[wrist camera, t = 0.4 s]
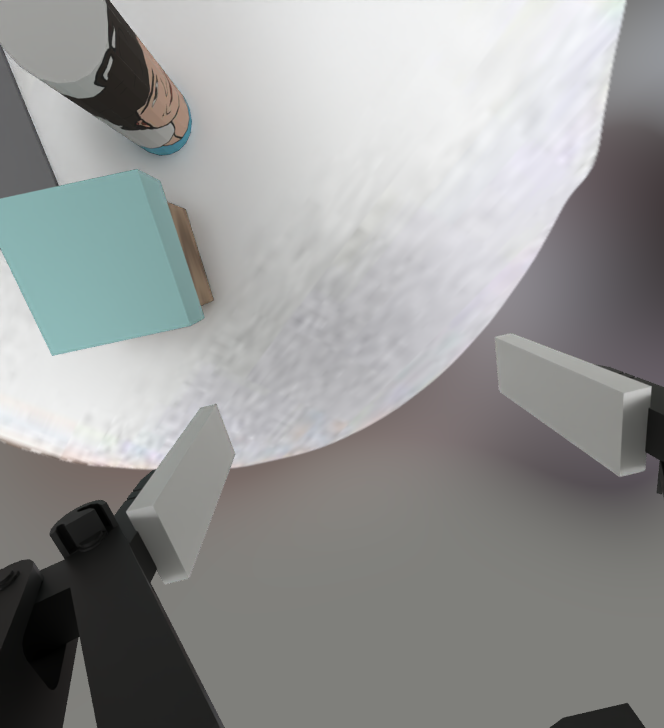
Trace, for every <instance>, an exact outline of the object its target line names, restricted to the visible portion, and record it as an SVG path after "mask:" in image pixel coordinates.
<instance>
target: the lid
mask: <svg viewBox="0 0 664 728" xmlns="http://www.w3.org/2000/svg"><path fill="white" fill-rule="evenodd" d="M0 249H1V251H2V253H3V255H4V257H5V259H6V261H7V263H8V265H9V267H10V269H11V272H12V274H13V276H14V278H15V280H16V282H17V284H18V286H19V288H20V290H21V292H22V294H23V296H24V298H25V300H26V303H27V305H28V307H29V309H30V311H31V313H32V315H33V317H34V319H35V321H36V323H37V325H38V327H39V329H40V332H41V334H42V336H43V338H44V340H45V342H46V344H47V346H48V348H49V350H50V352H51V354H52V356H54V355H58V354H63V353H67V352H72V351H77V350H81V349H86V348H91V347H95V346H100V345H104V344H109V343H114V342H118V341H123V340H128V339H132V338H137V337H141V336H146V335H151V334H155V333H160V332H164V331H169V330H174V329H178V328H183V327H188V326H191V325H193V324H195V323H197V322H198V321H200V320H202V319H204V318H205V317H204V314H203V311H202V308H201V305H200V302H199V299H198V296H197V293H196V290H195V287H194V284H193V281H192V277H191V274H190V271H189V268H188V265H187V262H186V259H185V256H184V253H183V250H182V247H181V244H180V241H179V237H178V234H177V231H176V228H175V225H174V222H173V219H172V216H171V213H170V210H169V207H168V204H167V201H166V198H165V194H164V191H163V188H162V185H161V182H160V181H159V180H157V179H155V178H153V177H152V176H150V175H148V174H146V173H144V172H142V171H140V170H138V169H135V170H130V171H126V172H121V173H116V174H112V175H107V176H103V177H98V178H93V179H89V180H84V181H80V182H75V183H70V184H66V185H61V186H56V187H52V188H47V189H43V190H38V191H33V192H29V193H24V194H19V195H15V196H10V197H6V198H1V199H0Z"/></svg>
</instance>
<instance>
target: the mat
mask: <svg viewBox="0 0 664 728" xmlns="http://www.w3.org/2000/svg"><path fill="white" fill-rule="evenodd" d="M56 186H58V183H57V181H56V179H55V176H54V174H53V171H52V169H51V166H50V164H49V162H48V159H47V157H46V154H45V152H44V149H43V147H42V144H41V142H40V140H39V137H38V135H37V132H36V130H35V127H34V125H33V123H32V120H31V118H30V115H29V113H28V110H27V108H26V106H25V103H24V101H23V98H22V96H21V93H20V91H19V88H18V86H17V84H16V81H15V79H14V76H13V74H12V71H11V69H10V67H9V64H8V62H7V59H6V57H5V54H4V52H3V49H2V47H1V45H0V199H1V198H6V197H10V196H15V195H19V194H24V193H29V192H33V191H38V190H43V189H47V188H52V187H56Z"/></svg>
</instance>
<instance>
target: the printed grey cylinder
mask: <svg viewBox="0 0 664 728" xmlns="http://www.w3.org/2000/svg"><path fill="white" fill-rule="evenodd" d="M0 44H1V45H2V47H3V49H4V50H5V51H6V52H7V53H8V54H9V55H10V56H11V58H12V59H13V60H14V61H15V62H16V63H17V64H18V65H19V66H20V67H22V68H23V69H25V70H26V71H28V72H29V73H31V74H32V75H34V76H35V77H37V78H38V79H40V80H41V81H43V82H44V83H46V84H47V85H49V86H50V87H52V88H53V89H55V90H56V91H58V92H59V93H61V94H62V95H64V96H65V97H67V98H68V99H70V100H71V101H73V102H74V103H76V104H77V105H79V106H80V107H82V108H83V109H85V110H86V111H88V112H89V113H91V114H92V115H94V116H95V117H97V118H98V119H100V120H101V121H103V122H104V123H106V124H107V125H109V126H110V127H112V128H113V129H115V130H116V131H118V132H119V133H121V134H122V135H124V136H125V137H127V138H128V139H130V140H131V141H133V142H134V143H136V144H137V145H139V146H140V147H142V148H143V149H145V150H146V151H148V152H150V153H154V154H157V155H169V154H172V153H174V152H176V151H178V150H180V149H181V148H182V147H183V146H184V145H185V143H186V142H187V140H188V137H189V135H190V133H191V123H192V120H191V114H190V109H189V107H188V104H187V102H186V100H185V98H184V96H183V95H182V94H181V93H180V91H179V90H178V89H177V87H176V86H175V85H174V84H173V82H172V81H171V80H170V78H169V77H168V76H167V74H166V73H165V72H164V71H163V69H162V68H161V67H160V65H159V64H158V63H157V62H156V60H155V59H154V58H153V56H152V55H151V54H150V52H149V51H148V50H147V49H146V47H145V46H144V45H143V43H142V42H141V41H140V40H139V38H138V37H137V36H136V34H135V33H134V32H133V30H132V29H131V28H130V27H129V25H128V24H127V23H126V21H125V20H124V19H123V18H122V16H121V15H120V14H119V12H118V11H117V10H116V8H115V7H114V6H113V5H112V3H111V2H110V1H109V0H0Z"/></svg>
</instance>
